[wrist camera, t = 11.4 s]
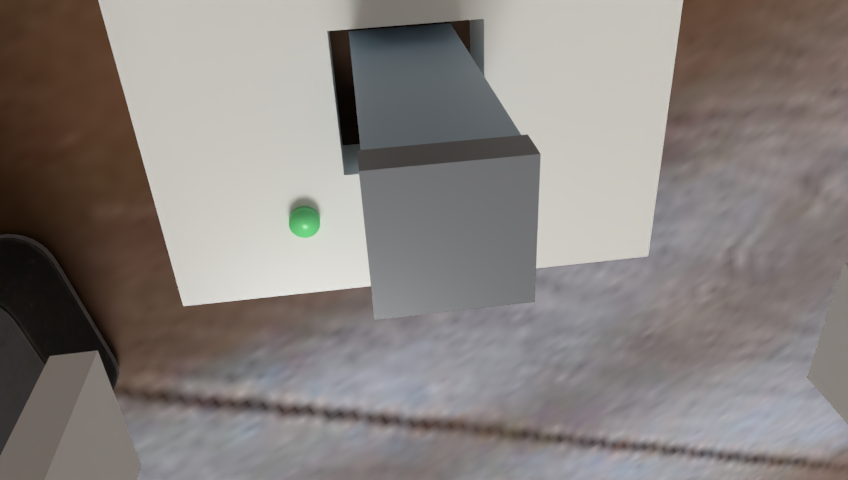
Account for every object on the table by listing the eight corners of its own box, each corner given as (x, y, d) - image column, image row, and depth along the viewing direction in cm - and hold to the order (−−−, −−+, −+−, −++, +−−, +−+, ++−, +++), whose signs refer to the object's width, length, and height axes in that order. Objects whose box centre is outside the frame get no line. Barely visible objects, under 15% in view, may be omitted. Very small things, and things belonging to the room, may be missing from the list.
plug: (345, 28, 27) (359, 171, 16) (452, 20, 27) (540, 153, 16) (356, 130, 29) (374, 319, 18) (455, 121, 30) (534, 301, 18)
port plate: (91, -132, 23) (58, -127, 20) (666, -167, 25) (711, -166, 22) (194, 267, 32) (181, 311, 29) (623, 223, 33) (651, 261, 30)
